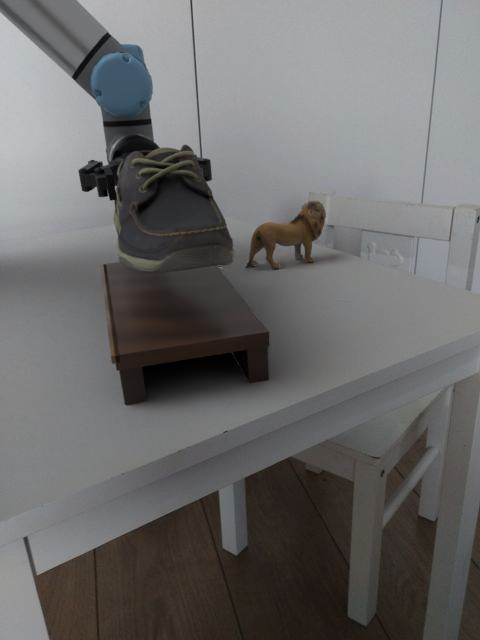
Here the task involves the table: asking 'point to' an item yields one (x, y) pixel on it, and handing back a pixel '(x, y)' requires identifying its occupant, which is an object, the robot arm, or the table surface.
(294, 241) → the lion figurine
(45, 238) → the table surface
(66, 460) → the table surface
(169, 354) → the shoe shelf
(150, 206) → the boat shoe
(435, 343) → the table surface
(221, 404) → the table surface
